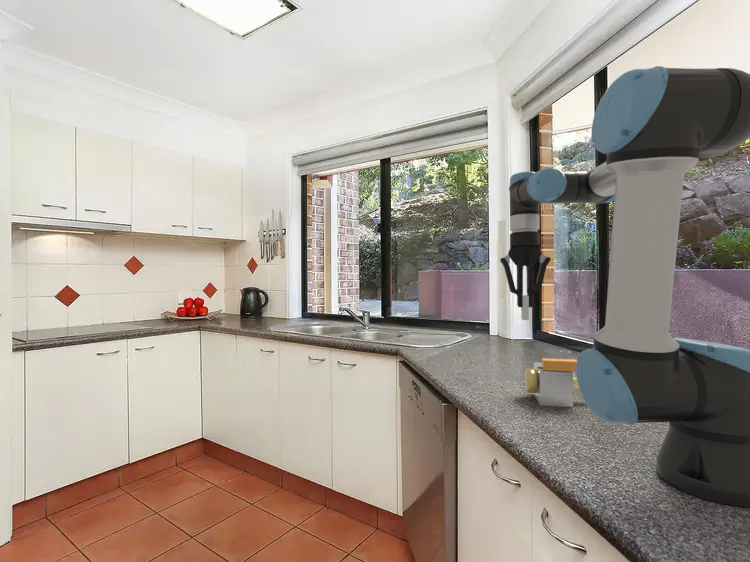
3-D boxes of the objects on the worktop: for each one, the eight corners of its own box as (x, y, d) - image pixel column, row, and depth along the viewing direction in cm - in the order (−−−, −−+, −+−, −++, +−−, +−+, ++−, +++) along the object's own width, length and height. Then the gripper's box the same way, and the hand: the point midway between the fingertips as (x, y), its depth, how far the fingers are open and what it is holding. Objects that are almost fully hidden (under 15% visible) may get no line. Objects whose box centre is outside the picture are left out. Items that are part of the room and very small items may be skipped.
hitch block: (573, 407, 105) (573, 371, 105) (539, 405, 107) (539, 369, 106) (564, 395, 115) (564, 362, 114) (533, 393, 116) (533, 361, 116)
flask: (580, 387, 122) (580, 354, 122) (554, 386, 124) (554, 353, 124) (574, 381, 129) (574, 349, 129) (549, 380, 131) (549, 348, 131)
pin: (593, 399, 105) (593, 374, 105) (527, 395, 109) (528, 371, 109) (586, 392, 112) (586, 368, 111) (524, 388, 115) (524, 366, 115)
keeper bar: (585, 371, 104) (586, 358, 104) (543, 370, 106) (543, 356, 106) (582, 369, 107) (582, 355, 107) (541, 367, 109) (542, 354, 109)
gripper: (547, 232, 113) (547, 318, 113) (497, 233, 115) (498, 317, 115) (553, 229, 105) (554, 321, 106) (500, 231, 108) (501, 320, 108)
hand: (525, 319), depth 110 cm, fingers closed
